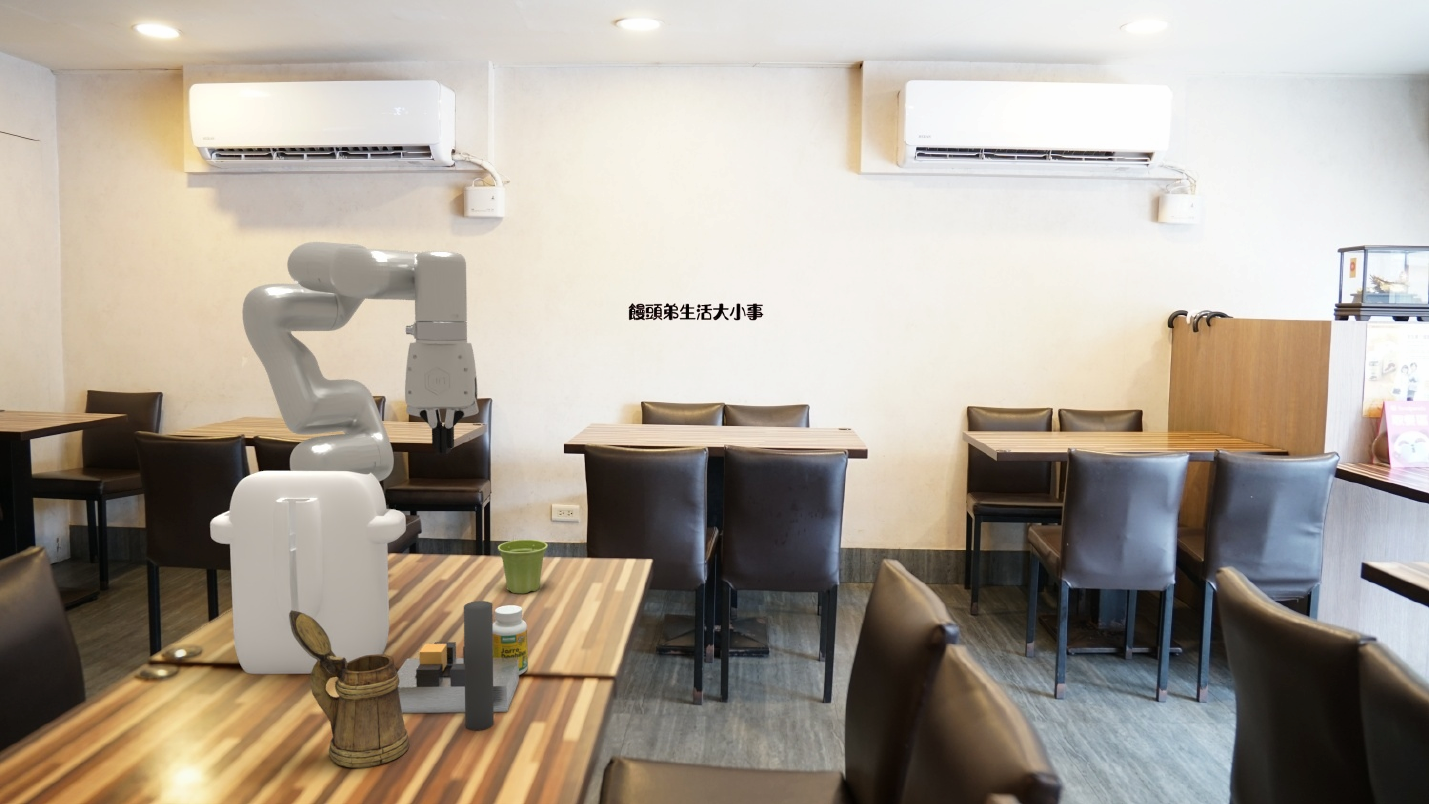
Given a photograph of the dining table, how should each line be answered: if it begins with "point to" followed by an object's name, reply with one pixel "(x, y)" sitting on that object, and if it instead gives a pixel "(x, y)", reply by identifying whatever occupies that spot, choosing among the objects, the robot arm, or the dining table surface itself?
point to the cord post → (478, 665)
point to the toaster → (308, 564)
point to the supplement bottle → (510, 635)
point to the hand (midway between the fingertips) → (443, 452)
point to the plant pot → (522, 564)
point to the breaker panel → (455, 694)
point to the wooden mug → (355, 699)
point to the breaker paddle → (433, 654)
